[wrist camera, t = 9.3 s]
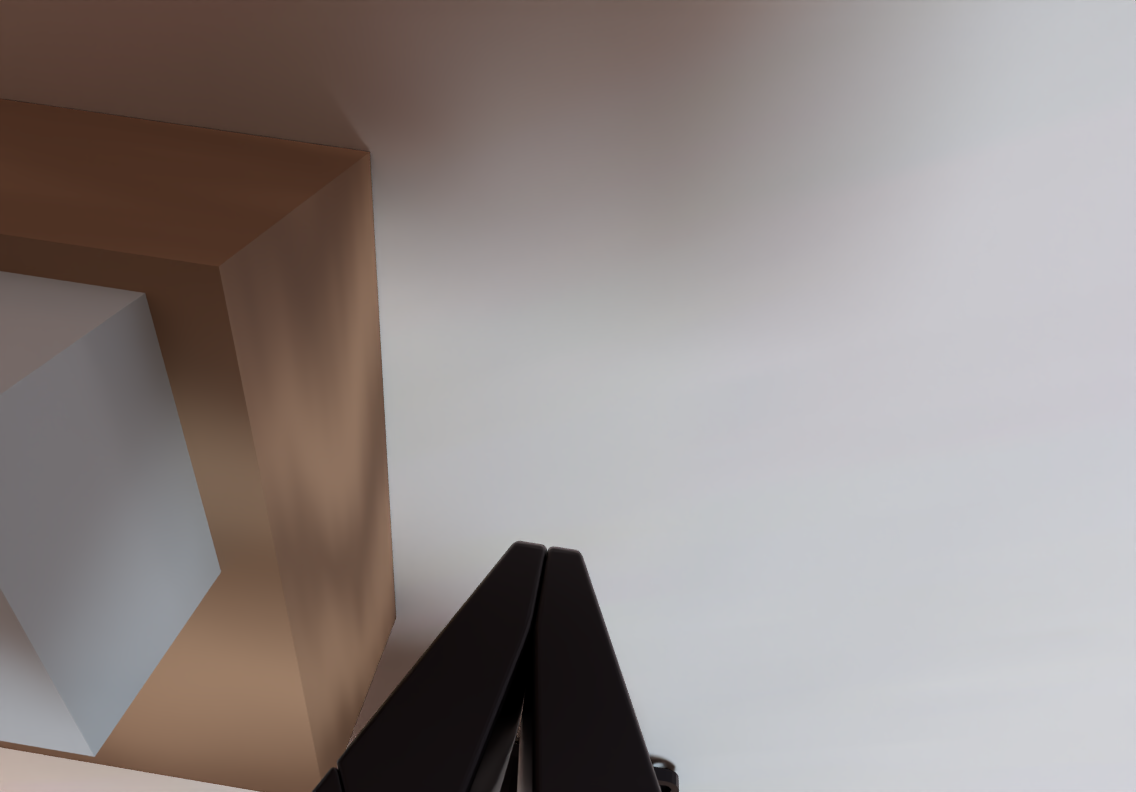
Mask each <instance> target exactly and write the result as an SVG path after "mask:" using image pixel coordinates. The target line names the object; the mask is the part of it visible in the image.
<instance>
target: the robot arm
mask: <svg viewBox="0 0 1136 792" xmlns="http://www.w3.org/2000/svg"><path fill="white" fill-rule="evenodd" d="M524 695H525V696H524ZM523 701H524V704H523ZM522 706H523V711H522ZM521 712H522V719H521V729H520V742H519V744H514V741H515V737H516V733H517V729H518V726H519V722H520V717H521ZM312 792H679V780H678V775H677V773H675V772H674V771H672V770H669V769H664V768H658V767H653V765H652V762H651V759H650V756H649V753H648V750H647V747H646V744H645V741H644V738H643V735H642V732H641V729H640V726H639V723H638V720H637V717H636V714H635V711H634V708H633V705H632V702H631V699H630V696H629V693H628V690H627V687H626V684H625V681H624V678H623V676H622V673H621V670H620V667H619V664H618V661H617V658H616V655H615V652H614V649H613V646H612V643H611V640H610V637H609V634H608V631H607V628H606V625H605V622H604V619H603V616H602V613H601V610H600V607H599V604H598V601H597V598H596V595H595V592H594V589H593V586H592V583H591V580H590V577H589V574H588V571H587V568H586V565H585V562H584V559H583V556H582V554H581V553H580V552H579V551H577V550H573V549H567V548H561V547H550V548H549V549H548V551H547V549H546V547H545V546H544V545H542V544H536V543H529V542H523V541H517V542H515V543H513V544H512V545H511V546H510V548H509V549H508V550H507V551H506V553H505V554H504V555H503V556H502V557H501V559H500V560H499V561H498V562H497V564H496V565H495V566H494V567H493V569H492V570H491V571H490V572H489V574H488V575H487V576H486V577H485V578H484V580H483V581H482V582H481V583H480V585H479V586H478V587H477V588H476V590H475V591H474V592H473V593H472V595H471V596H470V597H469V598H468V599H467V601H466V602H465V603H464V604H463V606H462V607H461V608H460V609H459V611H458V612H457V613H456V614H455V616H454V617H453V618H452V619H451V620H450V622H449V623H448V624H447V625H446V627H445V628H444V629H443V630H442V632H441V633H440V634H439V635H438V637H437V638H436V639H435V640H434V641H433V643H432V644H431V645H430V646H429V648H428V649H427V650H426V651H425V653H424V654H423V655H422V656H421V658H420V659H419V660H418V661H417V662H416V664H415V665H414V666H413V667H412V669H411V670H410V671H409V672H408V674H407V675H406V676H405V677H404V679H403V680H402V681H401V682H400V683H399V685H398V686H397V687H396V688H395V690H394V691H393V692H392V693H391V695H390V696H389V697H388V698H387V700H386V701H385V702H384V703H383V704H382V706H381V707H380V708H379V709H378V711H377V712H376V713H375V714H374V716H373V717H372V718H371V719H370V721H369V722H368V723H367V724H366V725H365V727H364V728H363V729H362V730H361V732H360V733H359V734H358V735H357V737H356V738H355V739H354V740H353V742H352V743H351V744H350V745H349V746H348V748H347V749H346V750H345V751H344V753H343V754H342V755H341V756H340V758H339V759H338V760H337V768H336V767H332V768H330V769H329V771H328V772H327V773H326V774H325V776H324V777H323V778H322V779H321V781H320V782H319V783H318V784H317V785H316V787H315V788H314V789H313V790H312Z"/></svg>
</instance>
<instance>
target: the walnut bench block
mask: <svg viewBox="0 0 1136 792" xmlns="http://www.w3.org/2000/svg"><path fill="white" fill-rule="evenodd" d="M0 271H3V272H10V273H16V274H23V275H29V276H36V277H43V278H49V279H56V280H63V281H69V282H76V283H82V284H89V285H96V286H102V287H109V288H116V289H122V290H129V291H135V292H142V293H145V294H146V298H147V302H148V305H149V309H150V313H151V316H152V320H153V324H154V327H155V331H156V335H157V338H158V342H159V346H160V349H161V353H162V357H163V360H164V364H165V368H166V371H167V375H168V379H169V382H170V386H171V390H172V394H173V397H174V401H175V405H176V408H177V412H178V416H179V419H180V423H181V427H182V430H183V434H184V438H185V441H186V445H187V449H188V452H189V456H190V460H191V463H192V467H193V471H194V474H195V478H196V482H197V485H198V489H199V493H200V496H201V500H202V504H203V507H204V511H205V515H206V518H207V522H208V526H209V529H210V533H211V537H212V540H213V544H214V548H215V551H216V555H217V559H218V563H219V566H220V570H221V573H220V574H219V576H218V577H217V579H216V580H215V582H214V583H213V584H212V586H211V587H210V589H209V590H208V592H207V593H206V595H205V596H204V598H203V599H202V601H201V602H200V604H199V605H198V606H197V608H196V609H195V611H194V612H193V614H192V615H191V617H190V618H189V620H188V621H187V623H186V624H185V625H184V627H183V628H182V630H181V631H180V633H179V634H178V636H177V637H176V639H175V640H174V642H173V643H172V644H171V646H170V647H169V649H168V650H167V652H166V653H165V655H164V656H163V658H162V659H161V661H160V662H159V664H158V665H157V666H156V668H155V669H154V671H153V672H152V674H151V675H150V677H149V678H148V680H147V681H146V683H145V684H144V685H143V687H142V688H141V690H140V691H139V693H138V694H137V696H136V697H135V699H134V700H133V702H132V703H131V704H130V706H129V707H128V709H127V710H126V712H125V713H124V715H123V716H122V718H121V719H120V721H119V722H118V724H117V725H116V726H115V728H114V729H113V731H112V732H111V734H110V735H109V737H108V738H107V740H106V741H105V743H104V744H103V745H102V747H101V748H100V750H99V751H98V753H97V754H96V756H95V757H93V756H87V755H81V754H75V753H70V752H64V751H58V750H52V749H46V748H40V747H34V746H28V745H23V744H17V743H11V742H5V741H0V747H2V748H8V749H14V750H20V751H25V752H31V753H37V754H43V755H49V756H55V757H61V758H66V759H72V760H78V761H84V762H90V763H96V764H102V765H108V766H113V767H119V768H125V769H131V770H137V771H143V772H149V773H154V774H160V775H166V776H172V777H178V778H184V779H190V780H195V781H201V782H207V783H213V784H219V785H225V786H231V787H236V788H242V789H248V790H254V791H260V792H312V790H313V789H314V788H315V787H316V785H317V784H318V783H319V782H320V781H321V779H322V778H323V777H324V776H325V774H326V773H327V772H328V771H329V769H330V768H332V767H336V768H337V760H338V759H339V758H340V756H341V755H342V754H343V753H344V751H345V750H346V748H347V745H348V742H349V740H350V737H351V734H352V732H353V729H354V727H355V724H356V721H357V719H358V716H359V714H360V711H361V708H362V706H363V703H364V700H365V698H366V695H367V693H368V690H369V687H370V685H371V682H372V679H373V677H374V674H375V672H376V669H377V666H378V664H379V661H380V659H381V656H382V653H383V651H384V648H385V645H386V643H387V640H388V638H389V635H390V632H391V630H392V627H393V624H394V622H395V619H396V609H395V591H394V573H393V556H392V538H391V520H390V502H389V484H388V467H387V449H386V431H385V413H384V395H383V378H382V360H381V342H380V324H379V307H378V289H377V271H376V253H375V235H374V218H373V200H372V182H371V164H370V152H367V151H360V150H353V149H346V148H339V147H332V146H325V145H318V144H311V143H304V142H297V141H290V140H284V139H277V138H270V137H263V136H256V135H249V134H242V133H235V132H228V131H221V130H214V129H207V128H200V127H193V126H186V125H179V124H172V123H165V122H158V121H151V120H144V119H137V118H130V117H123V116H116V115H109V114H103V113H96V112H89V111H82V110H75V109H68V108H61V107H54V106H47V105H40V104H33V103H26V102H19V101H12V100H5V99H0Z"/></svg>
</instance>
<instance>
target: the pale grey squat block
mask: <svg viewBox="0 0 1136 792" xmlns="http://www.w3.org/2000/svg"><path fill="white" fill-rule="evenodd" d="M220 573H221V570H220V566H219V563H218V559H217V555H216V551H215V548H214V544H213V540H212V537H211V533H210V529H209V526H208V522H207V518H206V515H205V511H204V507H203V504H202V500H201V496H200V493H199V489H198V485H197V482H196V478H195V474H194V471H193V467H192V463H191V460H190V456H189V452H188V449H187V445H186V441H185V438H184V434H183V430H182V427H181V423H180V419H179V416H178V412H177V408H176V405H175V401H174V397H173V394H172V390H171V386H170V382H169V379H168V375H167V371H166V368H165V364H164V360H163V357H162V353H161V349H160V346H159V342H158V338H157V335H156V331H155V327H154V324H153V320H152V316H151V313H150V309H149V305H148V302H147V298H146V294H145V293H142V292H135V291H129V290H122V289H116V288H109V287H102V286H96V285H89V284H82V283H76V282H69V281H63V280H56V279H49V278H43V277H36V276H29V275H23V274H16V273H10V272H3V271H0V741H5V742H11V743H17V744H23V745H28V746H34V747H40V748H46V749H52V750H58V751H64V752H70V753H75V754H81V755H87V756H93V757H95V756H96V754H97V753H98V751H99V750H100V748H101V747H102V745H103V744H104V743H105V741H106V740H107V738H108V737H109V735H110V734H111V732H112V731H113V729H114V728H115V726H116V725H117V724H118V722H119V721H120V719H121V718H122V716H123V715H124V713H125V712H126V710H127V709H128V707H129V706H130V704H131V703H132V702H133V700H134V699H135V697H136V696H137V694H138V693H139V691H140V690H141V688H142V687H143V685H144V684H145V683H146V681H147V680H148V678H149V677H150V675H151V674H152V672H153V671H154V669H155V668H156V666H157V665H158V664H159V662H160V661H161V659H162V658H163V656H164V655H165V653H166V652H167V650H168V649H169V647H170V646H171V644H172V643H173V642H174V640H175V639H176V637H177V636H178V634H179V633H180V631H181V630H182V628H183V627H184V625H185V624H186V623H187V621H188V620H189V618H190V617H191V615H192V614H193V612H194V611H195V609H196V608H197V606H198V605H199V604H200V602H201V601H202V599H203V598H204V596H205V595H206V593H207V592H208V590H209V589H210V587H211V586H212V584H213V583H214V582H215V580H216V579H217V577H218V576H219V574H220Z"/></svg>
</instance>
